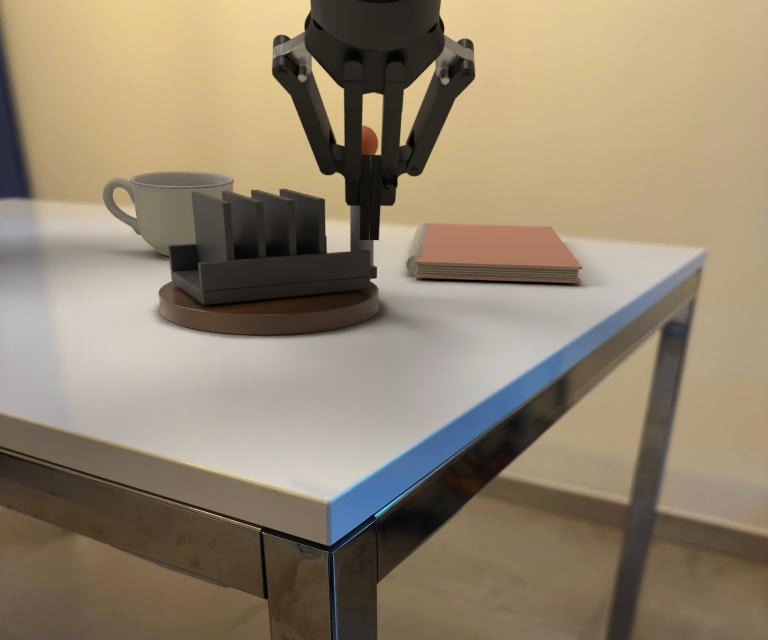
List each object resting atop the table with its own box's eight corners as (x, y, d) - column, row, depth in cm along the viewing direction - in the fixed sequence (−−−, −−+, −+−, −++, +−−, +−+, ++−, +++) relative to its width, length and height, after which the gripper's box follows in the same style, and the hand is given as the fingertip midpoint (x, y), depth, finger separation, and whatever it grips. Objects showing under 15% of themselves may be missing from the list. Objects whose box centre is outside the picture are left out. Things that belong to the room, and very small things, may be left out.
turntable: (112, 311, 63) (110, 292, 62) (261, 276, 76) (260, 260, 76) (285, 348, 54) (284, 327, 54) (418, 301, 68) (419, 284, 67)
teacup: (251, 247, 91) (247, 172, 87) (218, 264, 81) (211, 181, 77) (139, 242, 93) (130, 168, 89) (93, 258, 83) (81, 176, 79)
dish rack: (203, 305, 58) (187, 127, 52) (171, 282, 65) (154, 123, 59) (400, 286, 65) (404, 127, 60) (352, 267, 72) (351, 123, 67)
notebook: (416, 236, 100) (416, 220, 99) (549, 241, 99) (551, 224, 98) (404, 279, 76) (405, 258, 75) (579, 285, 75) (582, 264, 74)
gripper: (250, -11, 40) (288, 264, 63) (503, -4, 41) (450, 266, 63) (256, -115, 42) (290, 187, 65) (495, -108, 43) (447, 189, 65)
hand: (369, 226), depth 64 cm, fingers closed
